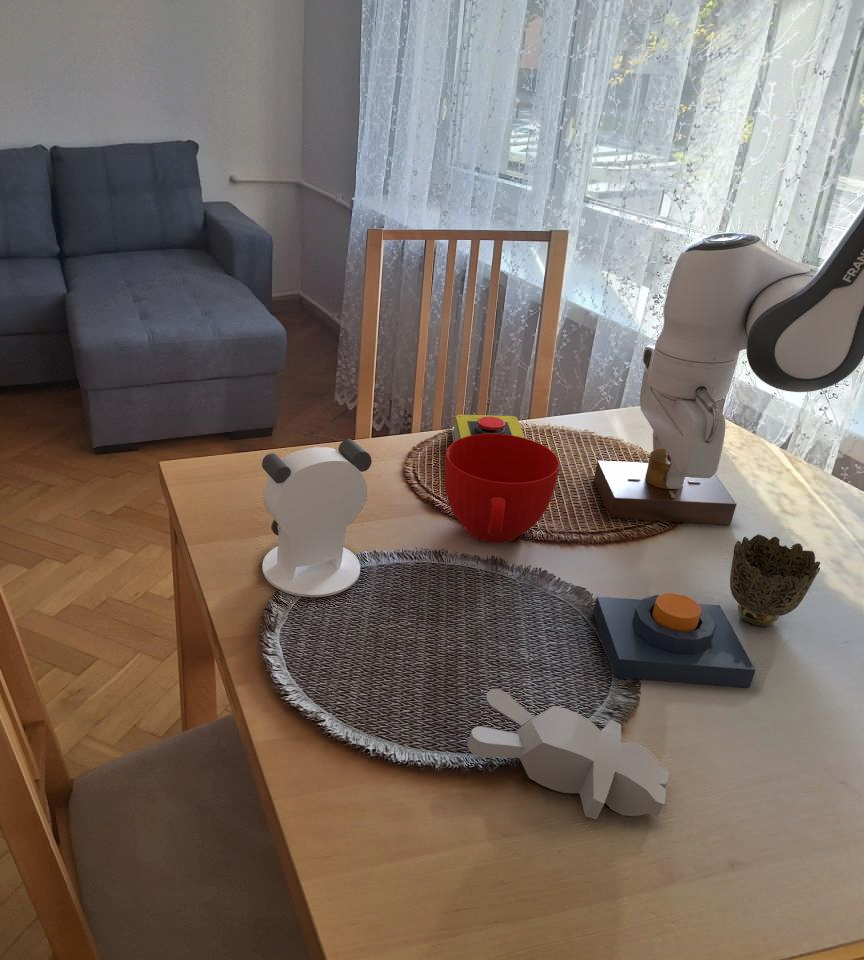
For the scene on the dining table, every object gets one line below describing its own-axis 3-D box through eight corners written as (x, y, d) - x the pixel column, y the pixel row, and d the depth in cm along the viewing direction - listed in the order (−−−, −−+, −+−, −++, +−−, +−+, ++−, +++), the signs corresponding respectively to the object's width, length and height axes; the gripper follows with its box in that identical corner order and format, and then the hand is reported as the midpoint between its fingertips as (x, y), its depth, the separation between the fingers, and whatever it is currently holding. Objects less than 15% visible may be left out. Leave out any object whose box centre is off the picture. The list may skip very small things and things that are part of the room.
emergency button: (517, 404, 128) (535, 449, 115) (513, 430, 130) (531, 478, 117) (453, 402, 129) (464, 447, 116) (450, 429, 131) (461, 475, 118)
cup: (704, 618, 90) (723, 555, 86) (729, 587, 94) (749, 526, 90) (784, 650, 85) (808, 585, 81) (806, 616, 89) (830, 553, 86)
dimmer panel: (704, 485, 114) (710, 464, 112) (730, 525, 105) (737, 502, 104) (593, 480, 116) (597, 459, 114) (610, 518, 107) (614, 496, 106)
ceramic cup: (430, 567, 99) (438, 493, 94) (442, 496, 113) (449, 428, 109) (549, 584, 96) (563, 507, 91) (546, 509, 110) (558, 438, 105)
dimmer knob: (638, 473, 111) (645, 447, 109) (673, 472, 111) (679, 445, 109) (654, 489, 107) (660, 463, 105) (689, 488, 107) (696, 461, 105)
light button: (690, 608, 86) (694, 594, 85) (702, 634, 82) (707, 619, 81) (647, 605, 86) (651, 591, 85) (658, 630, 83) (662, 616, 82)
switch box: (714, 621, 89) (724, 590, 87) (749, 688, 81) (761, 655, 79) (593, 613, 91) (599, 582, 89) (614, 677, 82) (622, 644, 81)
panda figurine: (337, 532, 107) (341, 423, 99) (383, 582, 97) (391, 465, 90) (248, 553, 103) (245, 441, 96) (286, 606, 94) (286, 487, 86)
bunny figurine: (667, 817, 63) (469, 731, 69) (645, 859, 66) (456, 773, 72) (679, 733, 71) (498, 661, 76) (658, 774, 73) (485, 702, 79)
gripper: (751, 409, 93) (719, 518, 99) (692, 344, 110) (669, 440, 117) (688, 407, 94) (661, 515, 100) (640, 343, 111) (620, 438, 118)
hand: (665, 474), depth 109 cm, fingers closed on dimmer knob, 4 cm apart
